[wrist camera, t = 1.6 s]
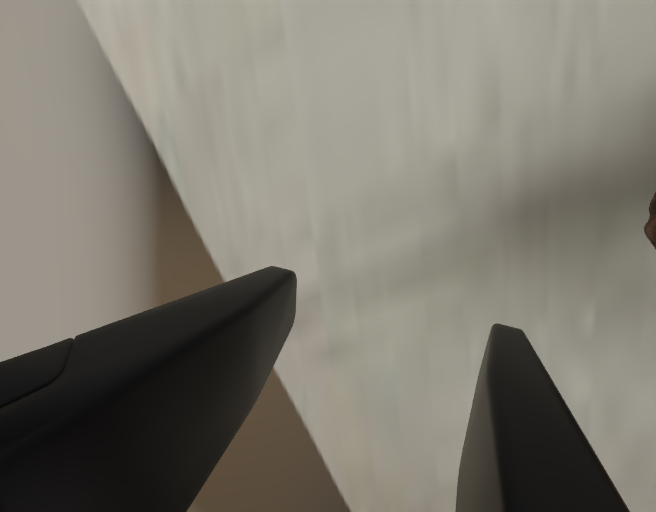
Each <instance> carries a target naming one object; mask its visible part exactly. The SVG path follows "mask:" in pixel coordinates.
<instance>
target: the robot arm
mask: <svg viewBox="0 0 656 512" xmlns="http://www.w3.org/2000/svg"><path fill="white" fill-rule="evenodd" d="M296 288H297V278H296V274H295V273H294V272H293V271H291V270H287V269H283V268H279V267H275V266H270V267H267V268H264V269H261V270H259V271H256V272H253V273H250V274H247V275H245V276H242V277H239V278H236V279H234V280H231V281H228V282H225V283H222V284H220V285H217V286H214V287H211V288H208V289H206V290H203V291H200V292H197V293H195V294H192V295H189V296H186V297H184V298H181V299H178V300H175V301H172V302H169V303H167V304H164V305H161V306H159V307H155V308H153V309H150V310H147V311H144V312H142V313H139V314H136V315H133V316H130V317H128V318H125V319H122V320H119V321H117V322H114V323H111V324H108V325H105V326H102V327H100V328H97V329H94V330H91V331H88V332H86V333H83V334H80V335H77V336H76V337H75V339H72V338H69V339H66V340H63V341H61V342H58V343H55V344H52V345H50V346H47V347H44V348H41V349H38V350H35V351H32V352H29V353H26V354H23V355H20V356H17V357H14V358H12V359H8V360H5V361H2V362H0V512H186V511H187V510H188V508H189V507H190V505H191V504H192V502H193V501H194V499H195V497H196V496H197V494H198V493H199V491H200V490H201V488H202V486H203V485H204V483H205V482H206V480H207V479H208V477H209V475H210V474H211V472H212V471H213V469H214V468H215V466H216V464H217V463H218V461H219V460H220V458H221V457H222V455H223V453H224V452H225V450H226V449H227V447H228V446H229V444H230V442H231V441H232V439H233V438H234V436H235V434H236V433H237V431H238V430H239V428H240V427H241V425H242V424H243V422H244V421H245V419H246V417H247V416H248V414H249V413H250V411H251V409H252V407H253V406H254V404H255V402H256V401H257V398H258V396H259V395H260V393H261V391H262V389H263V387H264V385H265V382H266V380H267V378H268V376H269V374H270V372H271V370H272V368H273V366H274V364H275V362H276V360H277V357H278V355H279V353H280V351H281V349H282V347H283V345H284V343H285V341H286V339H287V337H288V335H289V332H290V330H291V328H292V326H293V323H294V319H295V312H296ZM456 512H630V511H629V509H628V508H627V506H626V504H625V503H624V501H623V499H622V498H621V496H620V494H619V492H618V491H617V489H616V487H615V486H614V484H613V482H612V481H611V479H610V477H609V476H608V474H607V472H606V470H605V469H604V467H603V465H602V464H601V462H600V460H599V459H598V457H597V455H596V454H595V452H594V450H593V448H592V447H591V445H590V443H589V442H588V440H587V438H586V437H585V435H584V433H583V432H582V430H581V428H580V427H579V425H578V423H577V421H576V420H575V418H574V416H573V415H572V413H571V411H570V410H569V408H568V406H567V405H566V403H565V401H564V399H563V398H562V396H561V394H560V393H559V391H558V389H557V388H556V386H555V384H554V383H553V381H552V379H551V377H550V376H549V374H548V372H547V371H546V369H545V367H544V366H543V364H542V362H541V361H540V359H539V357H538V355H537V354H536V352H535V350H534V349H533V347H532V345H531V344H530V342H529V340H528V339H527V337H526V335H525V333H524V332H523V331H522V330H520V329H518V328H514V327H510V326H506V325H502V324H494V325H493V326H492V328H491V331H490V335H489V338H488V342H487V346H486V349H485V353H484V357H483V360H482V364H481V368H480V372H479V376H478V380H477V385H476V390H475V394H474V399H473V404H472V409H471V413H470V418H469V423H468V427H467V432H466V437H465V442H464V446H463V451H462V456H461V462H460V468H459V476H458V486H457V499H456Z"/></svg>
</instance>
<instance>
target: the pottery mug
mask: <svg viewBox="0 0 656 512" xmlns="http://www.w3.org/2000/svg"><path fill="white" fill-rule="evenodd" d="M649 212H650V218H649V220H648V222H647V223H646V225H645V227H644V231H645V234H646V236H647V238H648V239H649V240H650V242H651V243H652V244H653V246H654V247H655V249H656V192H655V194H654V196H653V199H652V200H651V203H650V207H649Z"/></svg>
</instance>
